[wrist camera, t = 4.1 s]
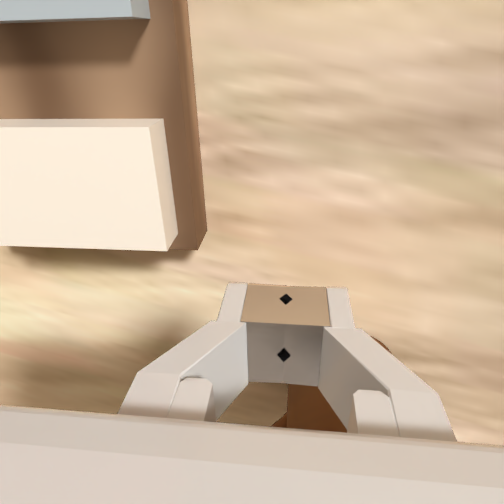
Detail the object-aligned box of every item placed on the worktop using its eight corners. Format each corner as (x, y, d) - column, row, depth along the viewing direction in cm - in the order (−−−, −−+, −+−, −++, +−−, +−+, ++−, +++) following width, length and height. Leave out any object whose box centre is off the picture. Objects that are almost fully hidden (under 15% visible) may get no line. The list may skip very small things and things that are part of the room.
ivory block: (163, 118, 18) (149, 127, 16) (178, 233, 21) (167, 251, 19) (-14, 119, 19) (-46, 127, 17) (23, 229, 22) (0, 245, 20)
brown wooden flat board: (170, -193, 15) (148, -233, 13) (207, 230, 23) (197, 250, 21) (-111, -168, 16) (-175, -200, 14) (23, 225, 25) (-3, 243, 23)
